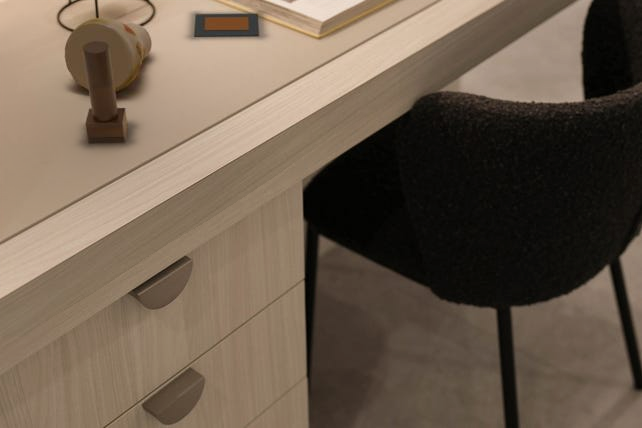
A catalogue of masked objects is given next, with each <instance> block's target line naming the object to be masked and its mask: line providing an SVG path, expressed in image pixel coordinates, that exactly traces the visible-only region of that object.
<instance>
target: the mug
mask: <svg viewBox="0 0 642 428" xmlns="http://www.w3.org/2000/svg"><path fill="white" fill-rule="evenodd" d="M93 41H102V42H105V43H107V44H108V45H109V49H110V56H111V64H112V71H113V79H114V86H115V93H116V92H118V91H122V90H123V89H125V88H126V87H128V86H129V85H131V83H133V82H134V80H135V79H136V77H137V76H138V75H139V72H140V71H141V69H142V64H143V60H144V59H146V58H147V57H148V55H149V54H150V53H151V50H152V45H153V43H152V38H151V35H150V33H149V31H148V30H147V29H146V28H145V27H143V26H142V25H140V24H138V23H134V22H126V23H123V22H121V21H119V20H116V19H114V18H113V19H112V18H109V17H95V18H91V19H88V20H86V21H83V22H82V23H80V24H79V25H78V26H76V27H75V29H73V31H72V32H71V33H70V34H69V36H68V37H67V40H66V42H65V45H64V46H65V47H64V60H65V64H66V68H67V70H68V72H69V74H70V76H71V77H72V79H73V81H74V82H75V83H76V84H78V85H79V86H81V87H83V88H84V89H86V90H88V91H89V88H88V82H87V75H86V69H85V63H84V56H83V50H82V47H83V46H84V45H85V44H86V43H89V42H93Z"/></svg>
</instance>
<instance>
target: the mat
mask: <svg viewBox="0 0 642 428" xmlns="http://www.w3.org/2000/svg"><path fill="white" fill-rule="evenodd" d="M259 29H260V28H259V13H196V14H195V20H194V32H193V33H194V34H193V37H194V38H223V37H224V38H228V37H229V38H235V37H237V38H238V37H239V38H241V37H242V38H245V37H248V38H249V37H250V38H251V37H260V30H259Z"/></svg>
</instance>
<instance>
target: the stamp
mask: <svg viewBox="0 0 642 428" xmlns="http://www.w3.org/2000/svg"><path fill="white" fill-rule="evenodd" d="M82 50H83V56H84V63H85V69H86V75H87V82H88V88H89V90H88V93H89V101H90V108H89V109H88V111H87V116H86V120H85V131H86V136H87V142H88V144H125V143H126V141H127V140H126V139H127V134H128V129H129V128H128V118H127V117H128V116H127V111H126V107H118V101H117V95H116V92H115V86H114V79H113V71H112V64H111V56H110V49H109V45H108V44H107V43H105V42H102V41H93V42H89V43H86V44H85V45H84V46H83V47H82Z"/></svg>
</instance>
